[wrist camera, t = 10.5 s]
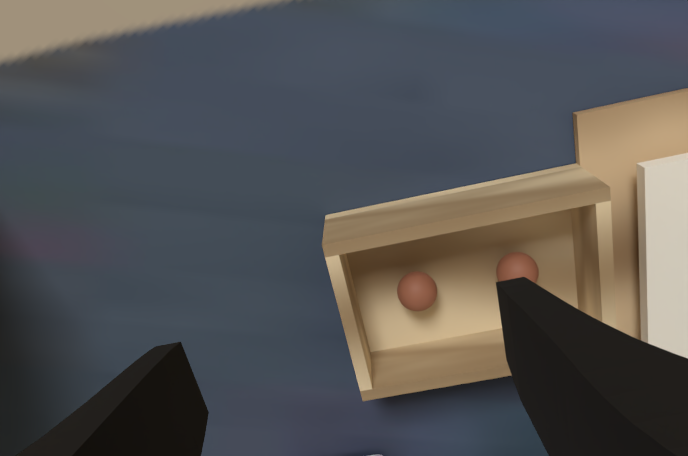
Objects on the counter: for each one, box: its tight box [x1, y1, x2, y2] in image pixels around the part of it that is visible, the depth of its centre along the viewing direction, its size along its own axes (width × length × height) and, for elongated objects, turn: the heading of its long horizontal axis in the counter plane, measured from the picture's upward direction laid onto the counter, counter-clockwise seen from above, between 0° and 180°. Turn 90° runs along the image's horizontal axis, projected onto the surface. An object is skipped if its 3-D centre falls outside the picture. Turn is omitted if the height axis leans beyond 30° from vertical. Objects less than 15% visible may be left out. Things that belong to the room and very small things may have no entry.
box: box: [322, 163, 617, 401], centre depth 22 cm, size 7×10×3 cm
